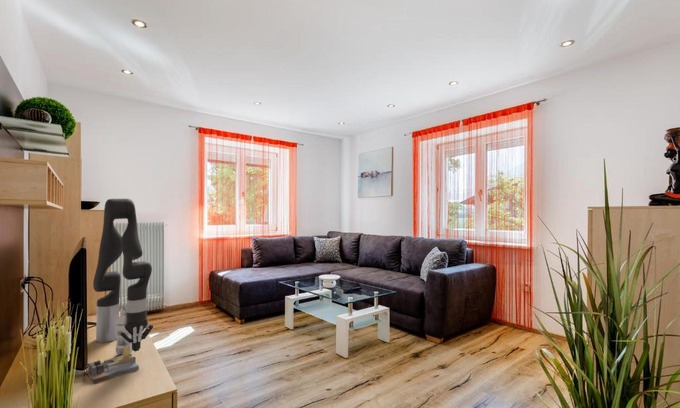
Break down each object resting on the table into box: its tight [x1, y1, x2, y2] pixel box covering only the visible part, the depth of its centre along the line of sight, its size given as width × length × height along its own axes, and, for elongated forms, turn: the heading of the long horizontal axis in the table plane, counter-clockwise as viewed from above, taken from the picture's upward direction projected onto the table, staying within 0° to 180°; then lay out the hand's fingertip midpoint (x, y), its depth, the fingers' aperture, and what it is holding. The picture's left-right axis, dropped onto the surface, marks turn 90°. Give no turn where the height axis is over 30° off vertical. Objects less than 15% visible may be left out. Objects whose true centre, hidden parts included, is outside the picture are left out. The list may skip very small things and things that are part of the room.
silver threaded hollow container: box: [115, 307, 134, 356], centre depth 150 cm, size 6×7×20 cm
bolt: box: [112, 346, 131, 363], centre depth 138 cm, size 3×6×6 cm, turn 138°
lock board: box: [85, 352, 140, 384], centre depth 135 cm, size 14×15×4 cm
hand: (136, 350), depth 141 cm, fingers closed
